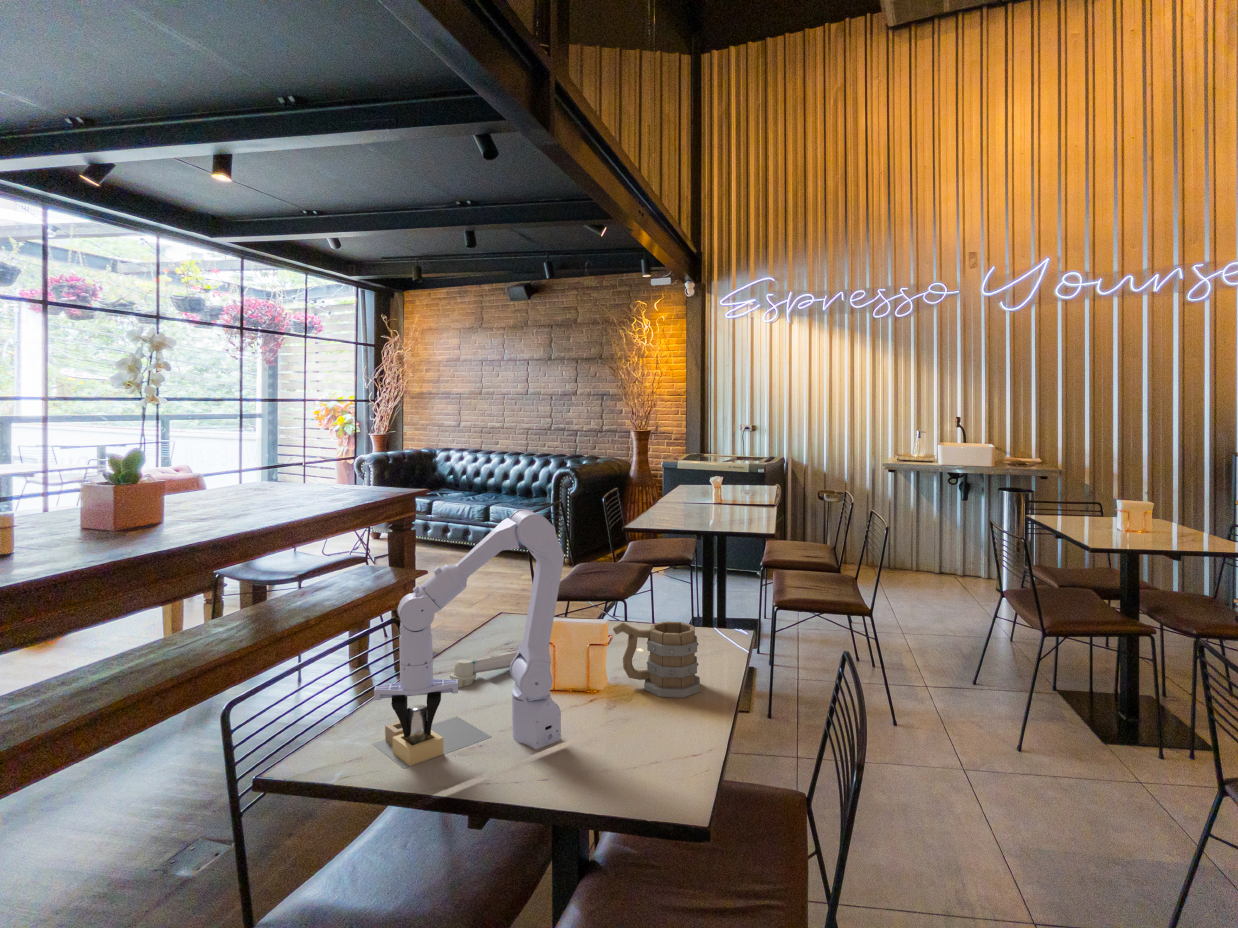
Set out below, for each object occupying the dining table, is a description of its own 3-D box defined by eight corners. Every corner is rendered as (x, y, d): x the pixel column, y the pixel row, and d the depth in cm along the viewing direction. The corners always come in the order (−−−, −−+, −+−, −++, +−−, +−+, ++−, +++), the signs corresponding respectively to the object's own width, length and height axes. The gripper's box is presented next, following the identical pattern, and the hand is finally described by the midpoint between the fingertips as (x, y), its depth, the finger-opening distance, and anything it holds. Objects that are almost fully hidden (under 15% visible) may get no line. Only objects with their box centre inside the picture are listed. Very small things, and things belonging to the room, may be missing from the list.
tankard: (699, 678, 167) (699, 616, 166) (700, 698, 154) (700, 631, 153) (616, 675, 169) (616, 614, 168) (610, 695, 156) (610, 629, 155)
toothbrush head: (541, 648, 177) (460, 660, 158) (538, 675, 177) (457, 690, 158) (527, 644, 181) (446, 655, 162) (525, 670, 180) (444, 684, 161)
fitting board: (492, 740, 134) (491, 721, 134) (403, 772, 122) (403, 751, 121) (457, 719, 143) (456, 701, 143) (371, 747, 131) (371, 728, 131)
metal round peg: (430, 746, 127) (430, 708, 127) (412, 751, 125) (411, 713, 124) (422, 739, 130) (422, 703, 129) (405, 745, 127) (404, 707, 127)
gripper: (457, 650, 132) (458, 720, 132) (376, 656, 128) (378, 728, 129) (457, 662, 125) (458, 736, 126) (372, 669, 122) (373, 745, 122)
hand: (417, 733), depth 127 cm, fingers closed on metal round peg, 3 cm apart
